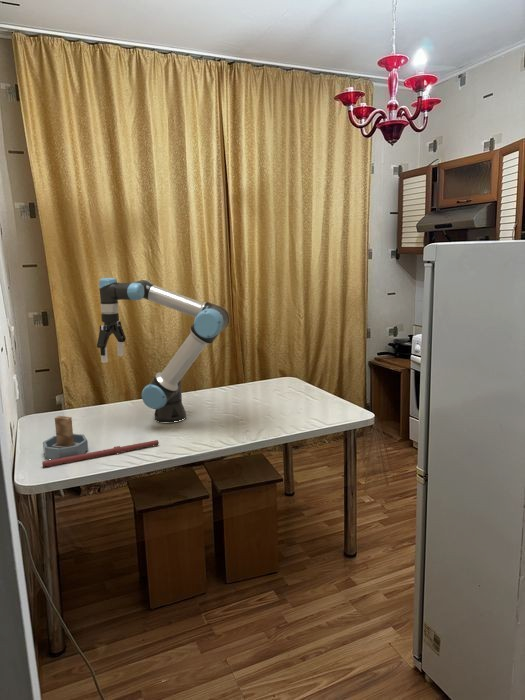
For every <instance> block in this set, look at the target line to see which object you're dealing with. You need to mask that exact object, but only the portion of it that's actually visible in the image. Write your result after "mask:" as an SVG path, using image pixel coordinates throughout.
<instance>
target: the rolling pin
mask: <svg viewBox="0 0 525 700" xmlns="http://www.w3.org/2000/svg"><path fill="white" fill-rule="evenodd" d="M159 443H160V442H159V440H158V439H155V440H151V441H145V442H140V443H133V444H129V445H124V446H120V445H117V446H113V448H107V449H102V450H96V451H93V452H86V453H85V454H80V455H74V456H69V457H64V458H58V459H53V460H49V459H47V460H42V463H41V464H42V468H46V467H45V466H48V467H52V466H51V465H53V466H57V465H62V464H63V463H64V464H68V462H69V463H73V462H79V461H84V460H88V459H89V458H90V459H94V457H95V458H99V457H104V456H110V455H109V454H111V455H115V454H116V455H118V454H117V453H121V454H122V453H125V452H124V451H126V452H129V451H128V450H131V451H134V450H133V449H137V448H142V447H147V448H149V447H148V446H152V447H154V446H153V445H158V444H159ZM158 446H159V445H158ZM142 449H143V448H142ZM137 450H138V449H137ZM114 453H115V454H114ZM90 459H89V460H90Z"/></svg>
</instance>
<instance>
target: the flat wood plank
mask: <svg viewBox="0 0 525 700" xmlns="http://www.w3.org/2000/svg"><path fill="white" fill-rule="evenodd" d="M72 420H73V419H72V417H71V416H64V415H63V416H61V415H58V416H55V417H54V423H55V425H54V426H55V434H56V435H55V436H56V437H57V446H63V447H70V446H74V440H73V434H74V432H73V431H74V429H73V421H72Z"/></svg>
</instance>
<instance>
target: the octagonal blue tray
mask: <svg viewBox="0 0 525 700" xmlns="http://www.w3.org/2000/svg"><path fill="white" fill-rule="evenodd" d="M73 440H74V446H70V447H63V446H57V437H56V435H53V436H51V437H50V438H47V440H44V441H43V442H42V449H43V453H44V457H45V458H46V459H47V458H48V459H47V460H49V459H51V460H53V459H58V458H64V457H69V456H74V455H80V454H84V453H87V452H86V451H88V450H89V443H88V439H87V437H86V436H85V434H81V433H80V434H79V433H73Z"/></svg>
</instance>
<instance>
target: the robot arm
mask: <svg viewBox="0 0 525 700" xmlns="http://www.w3.org/2000/svg"><path fill="white" fill-rule="evenodd" d="M98 286H99V287H98V289H99V301H100V312H101V314H100V316H101V322H102V323H103V325H99V334H98V338H97V344H96V348H98V349H100V358H101V359H100V360H101V361H100V362H101V363H104V364H105V363H108V362H109V361H108V359H109V358H108V348H107V344H108V341H109V338H110V336H111V335H112V334H113V336H114V337H115V339H116V340H117V342H116V347H117V348H116V350H117V356H118V357H124V356H125V353H124V352H125V351H124V343H126V339H127V337H126V335H125V332H124V329H123V326H122V321H119V320H120V315H119V311H120V310H119V301H121V300H123V301H141V300H142V299H144V300H147V301H150V302H152V303H155V304H158V305H161V306H164V307H166V308H169V309H172V310H175V311H177V312H180V313H182V314H185V315H186V316H190V317H193V318H194V321H193V323H192V325H191V326H190V327H189V331H190V333H189V335H188V336H187V337H186V339H185V340H184V341H183V343H182V344H181V346H179V348H178V349H177V351H176V353H175V354H174V355H173V356H172V358H171V360H169V362H168V363H167V365H166V366H165V367H164V369H163V370H162V371H159V372H156V374H155V375H154V377H153V378H152V379H151V381H150V383H148V384H146V385H145V386H144V388H143V389H142V391H141V399H142V402H143V403H144V405H146V407H148V408H149V409H151V410H152V409H153V410H155V411H154V416H153V417H154V418H153V419H154V421H155V420H157V421H159V422H158V423H160V422H174V421H179V420H182V419H184V418H185V417H186V418H187V411H186V410H185V407H184V405H183V402H182V401H183V399H182V398H183V396H182V378H183V377H184V376H185V374H186V373H187V372H188V370H189V369H190V368H191V367H192V365H193V363H194V362H195V361H196V359H197V358H198V357H199V356H200V354H201V353H202V351H203V350H204V349H205V348H206V347H207V345H212V344H213V343H214V342H215V340H216V339H217V338H218V336H219V335H220V333H221V332H223V331H224V330H226V329H227V328H228V327H229V324H230V321H231V320H230V319H231V318H230V314H229V312H228V311H227V309H226V308H225V307H223V306H221V305H218V304H216V303H211V302H209V301H205V302H201V301H199V300H196V299H193V298H192V297H189V296H185V295H183V294H180V293H177V292H174V291H172V290H169V289H166V288H163V287H161V286H158V285H155V284H153V283H152V282H151V281H149V280H147V279H146V280H144V279H142V280H141V279H140V280H137V281H132V282H131V281H130V282H118V281H117V278H116V277H102V278H100V279H99V281H98ZM118 300H119V301H118ZM186 418H185V419H186ZM185 419H184V420H185ZM157 421H156V422H157ZM182 421H183V420H182Z"/></svg>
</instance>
